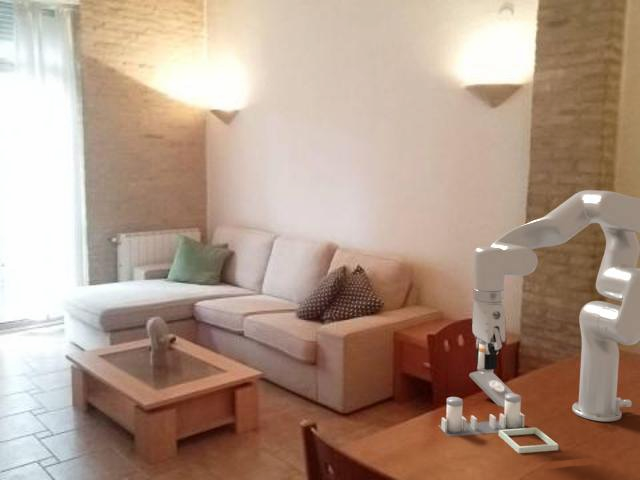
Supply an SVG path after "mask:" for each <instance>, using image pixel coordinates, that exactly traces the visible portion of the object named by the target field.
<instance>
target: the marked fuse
mask: <svg viewBox="0 0 640 480" xmlns="http://www.w3.org/2000/svg"><path fill="white" fill-rule="evenodd" d="M491 341H494V339H491ZM493 345H494V344H490V347H491V346H493ZM485 354H486V342H485V341H483V340H481V339H480V338H479V355H478V364H477V368H476V369H477V371H481V372H493V373H494V370H495V369H490V370H486V369H484V356H485Z"/></svg>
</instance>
